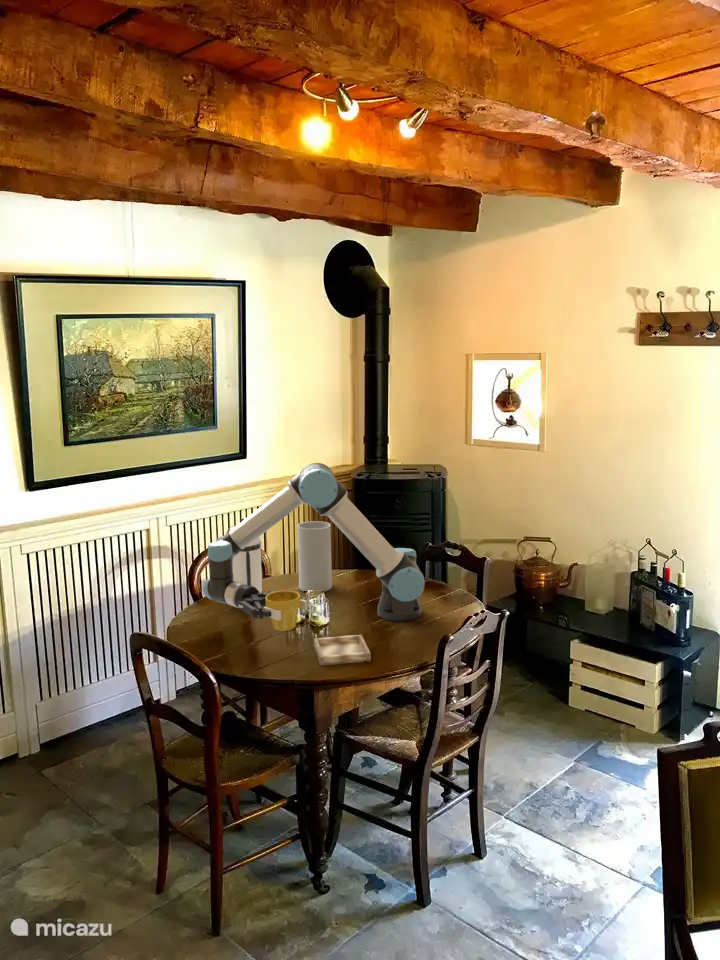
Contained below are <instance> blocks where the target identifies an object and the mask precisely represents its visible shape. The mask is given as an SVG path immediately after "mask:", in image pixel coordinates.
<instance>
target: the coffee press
mask: <svg viewBox="0 0 720 960" xmlns="http://www.w3.org/2000/svg"><path fill="white" fill-rule="evenodd" d="M245 519H246V518H241V519H240V520H239V524H240V523H241V522H242V521H243V520H245ZM237 525H238V524H234V525H232V526H230V527H229V528H228V529H227V531H226V532H225V535H226V534H227V533H228V532H229V531H231V530H232V529H233V528H234V527H236V526H237ZM262 563H263V562H262V542H261V536H259V537H258V538H257V539H255V540H254V541H253V542H252V543H250V544H249V545H248V546H246V547H245V548H244V549H243V550H241V551H240V552H239V553H238V554H236V555H235V556H234V558H233V581H234V582H238V583H242V584H246V585H249V586H253V587H255V588H257V590H258V591H259V592H260V593H267V592H266V591H265V590H264V587H263V564H262ZM262 591H263V592H262Z"/></svg>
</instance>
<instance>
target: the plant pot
mask: <svg viewBox="0 0 720 960" xmlns="http://www.w3.org/2000/svg"><path fill="white" fill-rule="evenodd" d="M300 599H301V594H300V593H299V592H297V591H294V590H277V591H275V592H272V593H270V594H268V595H267V596H266V597H265V602H266V605H265V607H268V608H271V609H275V610H279V611H281V620H280V621H279V620H275V619H272V618H270V620H271V624H272V627H273V630H276V631H280V632H286V631H290V630H293V629H295V627H296V626H297V620H298V612H299V609H300V608H299V607H300V605H301V600H300Z"/></svg>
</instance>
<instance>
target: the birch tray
mask: <svg viewBox="0 0 720 960" xmlns="http://www.w3.org/2000/svg"><path fill="white" fill-rule="evenodd" d="M313 647H314V650H315V653H316V656H317V659H318V662H319V666H330V665H341V664H354V663H355V662H356V663H364V661H367V662H371V657H372V656H371V655H372V654H371V651H370V649H369V647H368V645H367V644H366V641H365V639H364V637H363V634H354V635H353V634H352V635H343V636H342V635H341V636H340V635H338V636H330V637H329V636H328V637H326V636H325V637H316V638H315V637H314V638H313Z"/></svg>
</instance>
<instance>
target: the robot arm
mask: <svg viewBox="0 0 720 960" xmlns="http://www.w3.org/2000/svg"><path fill="white" fill-rule="evenodd" d="M287 482H288V483H287V486H286V487H284V488H283V489H282V490H281V491H279V492H278V493H277V494H275V495H274V496H273V497H271V498H270V499H269V500H267V501H266V502H265V503H264V504H263V505H261V506H260V507H259V508H257V509H256V510H255V511H253V513H251V514H250V515H248V516H247V517H246V518H244V519H245V520H243V521H242V522H241V523H240V522H239V523H238V524H236V525H237V526H236V527H234V528H233V529H232V530H231V531H229V532H228V533H227V532H226V533H227V534H226V533H225V534H224V535H222V536H219V537H218V538H217V539H216V540H215V541H213V542H210V543H209V544H208V546H207V557H208V561H207V562H208V570H209V577H208V578H207V579H206V580H205V581H204V585H203V588H202V589H203V594H204V596H205V597H206V598H208V599H209V600H211V601H213V602H216V603H222V604H224V605H229V606H232V607H234V608H236V609H238V611H242V612H244V613H246V614H247V615H249V616H251V617H252V618H254V619H255V618H259V620H260V619H261V620H262V619H264V617H266V618H269V619H271V618H272V619H275V620H279V621H280V620H281V611H279V610H275V609H271V608H268V607H266V602H265V597H266V596H267V595H268V594H270V593H272V592H276V591H274V590H271V589H270V590H268V593H267V592H266V593H265V592H261V593H260V592H259V591H258V590H257V588H255V587H253V586H249V585H246V584H242V583H238V582H234V581H233V558H234V556H235V555H236V554H238V553H239V552H240V551H241V550H243V549H244V548H245V547H246V546H248V545H249V544H250V543H252V542H253V541H254V540H255V539H257V538H258V537H259V536H260V537H261V536H262V535H264V534H265V533H266V532H267V531H269V530H270V529H271V528H272V527H273V526H275V525H276V524H277V523H278V522H280V521H282V520H283V519H284V518H286V517H287V516H288V515H289V514H290V513H292V512H293V511H295V509H297V508H298V507H300V506H301V505H308V506H310V507H312V508H313V509H314V510H315V512H317V514H319V515H320V516H321V517H323V516H324V517H327V518H329V519H330V520H331V522H332V523H334V525H335V526H336V527H337V528H338V529H339V530H340V531H341V533H343V534H344V536H345V537H346V538H347V539H348V540H349V541H350V542H351V543H352V544H353V545H354V546H355V548H357V550H358V551H359V552H360V553H361V554H362V555H363V556H364V557H365V559H366V560H368V561H369V563H370V564H371V565H372V566H373V567H374V568H375V570H376V571H375V573H376V574H375V576H377V578H378V579H379V580H380V582H381V587H382V592H381V594H380V598H379V601H378V605H377V615H378V617H380V618H382V619H384V620H387V621H393V622H401V621H403V622H405V621H411V620H416V619H417V617H418V618H419V617H420V616H421V615H422V606H421V603H420V600H419V597H420V596H421V595H422V593H423V592H424V589H425V584H426V583H425V577H424V574H423V572H422V571H421V570H420V568H419V566H418V565H417V552H416V550H415V549H413V548H406V547H393V546H392V545H391V544H390V542H388V541H387V540H386V538H385V537H384V536H383V535H382V534H381V533H380V532H379V530H377V529H376V527H375V526H374V525H373V524H372V523H371V522H370V521H369V520H368V518H367V517H365V515H364V514H363V513H362V512H361V511H360V510H359V509H358V508H357V506H355V504H354V503H353V502H352V501H351V500H350V499H349V498H348V490H347V489H346V487H345V486H344V485H343V484H342V483H341V482H340V481H339V480H338V479H337V478H336V476H335V474H334V472H333V470H332V469H331V468H330V467H329V466H328V465H326V464H324V463H322V462H312V463H309V464H307V465H306V466H304V467H303V468H302V469H301V470H300V471H298V473H297V474H296V475H295V476H294V477H292V478H291V479H290V480H289V481H287ZM300 600H301V605H300V607H299V608H298V609H301V610H304V611H307V610H308V600H305V599H301V598H300Z"/></svg>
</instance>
